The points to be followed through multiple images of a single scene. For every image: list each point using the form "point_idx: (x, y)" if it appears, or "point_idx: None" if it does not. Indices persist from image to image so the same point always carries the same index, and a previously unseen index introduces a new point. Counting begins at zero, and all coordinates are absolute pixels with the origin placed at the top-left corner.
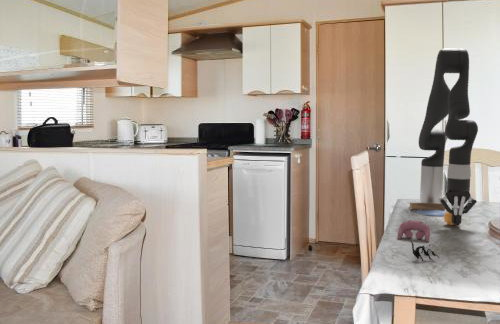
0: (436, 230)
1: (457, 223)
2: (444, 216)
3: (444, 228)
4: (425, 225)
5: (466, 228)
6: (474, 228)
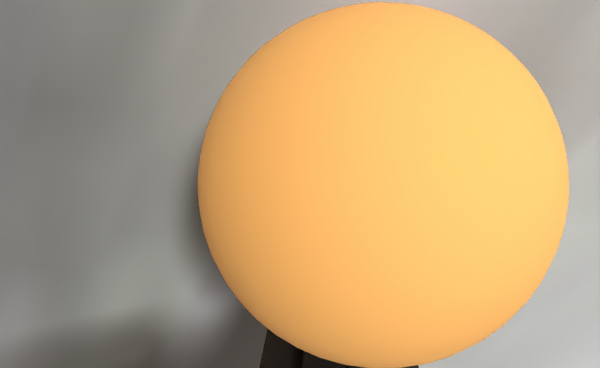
0: (25, 349)
1: None
2: (201, 153)
3: (153, 289)
4: None
5: None
6: (559, 342)
